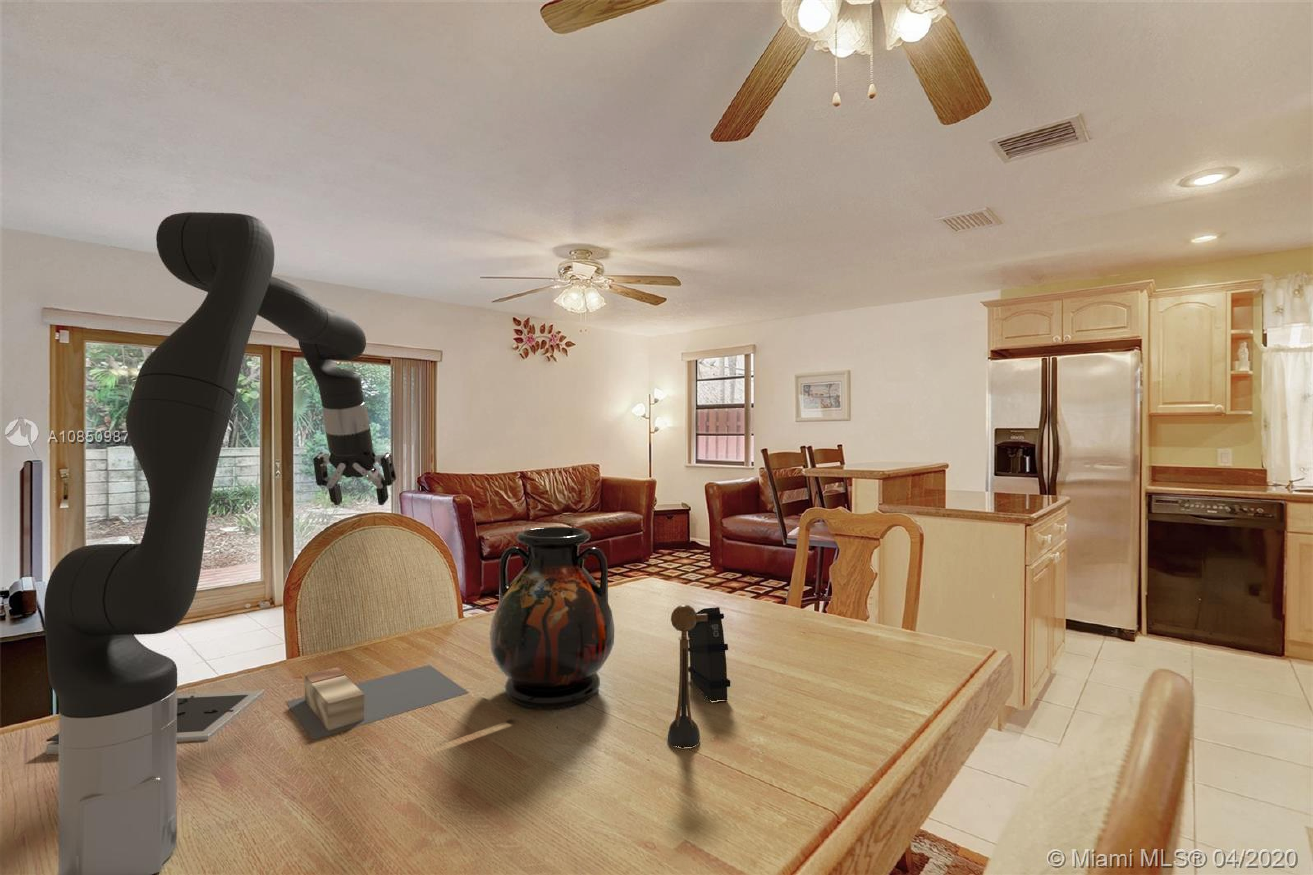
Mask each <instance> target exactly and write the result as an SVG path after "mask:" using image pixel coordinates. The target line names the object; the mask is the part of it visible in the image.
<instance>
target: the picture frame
mask: <svg viewBox="0 0 1313 875" xmlns="http://www.w3.org/2000/svg"><path fill="white" fill-rule="evenodd" d="M264 695H265V689H262V690H261V689H260V690H239V691H238V690H237V691H220V692H202V693H201V692H200V693H181V694H180V693H179V694H178V693H177V743H183V742H203V741H209V740H210V739H211V738H213V737H214V736H216V734H218V733H219V732H220V731H221V730H222V729H224V728H225V727H226V726H227V725H228V724H230V723H231V722H232V721H234V719H236V718H237V717H238V716H239V715H240V714H242V713H243V712H244V711H246V710H247V709H248V708H249V707H250V706H251V705H253V704H254V703H255V702H256V701H258V700H259V699H260V698H261V697H263V696H264ZM45 742H48V743H47V744H45V745H46V746H45V747H46V748H45V752H46V754H59V732H58V733H56V734H55V735H53V736H51V737H49V738H47V739H46V741H45ZM46 754H45V755H46Z"/></svg>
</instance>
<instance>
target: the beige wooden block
mask: <svg viewBox="0 0 1313 875" xmlns="http://www.w3.org/2000/svg"><path fill="white" fill-rule="evenodd" d="M355 684H356V683H353V681H351V680H350V678H349V677H348V676H346V673H345V672H344V671H343V670H341V668H339V667H338V666H337V667H333V668H329V669H325V670H324V669H323V670H321V671H315V672H311V673H307V674H305V675H304V697H305V701H306V702H307V703H308V705H309V706H310V707H311V709H312V710H313V711H314V712H315V714H316V715H317V716H318V718H319V719H320V720H321V721H322V723H323V724H324V725H325V727H326V728H327V729H328V730H332V729H335V728H339V727H342V726H345V725H349V724H352V723H355V722H359V721H362V720H364V693H363V692H362V691H361V690H360V689H359V688H358V687H357V686H356V685H355Z"/></svg>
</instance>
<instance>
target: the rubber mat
mask: <svg viewBox="0 0 1313 875" xmlns="http://www.w3.org/2000/svg"><path fill="white" fill-rule="evenodd" d="M354 684H355V685H356V686H357V687H358V688H359V689H360V690H361V691H362V692H363V693H364V720H362V721H359V722H355V723H352V724H349V725H345V726H342V727H339V728H335V729H332V730H328V729H327V728H326V727H325V725H324V724H323V723H322V721H321V720H320V719H319V718H318V716H317V715H316V714H315V712H314V711H313V710H312V709H311V707H310V706H309V705H308V703H307V702H306V701H305V696H302V697H298V698H295V699H290V700H287V701H285V703H286V705H287V706H288V708H289V709H290V711H291V712H292V713H293V715H294V717H296V719H297V720H298V722H299V723H300V724H301V726H302V727H303V729H304V731H305V732H306V733H307V734H308V736H309V738H310V739H311V741H315V740H317V739H322V738H324V737H327V736H332V735H335V734H338V733H340V732H341V733H342V732H343V731H347V730H351V729H355V728H357V727H360V726H364V725H367V724H370V723H374V722H377V721H381V720H383V719H387V718H390V717H394V716H398V715H401V714H405V713H407V712H410V711H414V710H417V709H420V708H424V707H427V706H430V705H433V704H437V703H439V702H443V701H446V700H447V701H448V700H450V699H453V698H456V697H461V696H462V695H463V696H464V695H467V694H470V692H469V691H468V690H466V688H464V687H462V686H461V685H459V684H458V683H456V682H455V681H454V680H452V679H450V678H449V677H447V676H446V675H445V674H443V673H442V672H440V671H439V670H438V669H436V668H435V667H433V666H432V665H430V664H427V665H424V666H420V667H416V668H412V669H411V668H410V669H408V670H404V671H400V672H396V673H392V674H388V675H385V676H381V677H377V678H372V679H369V680H365V681H362V682H358V683H354Z"/></svg>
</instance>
